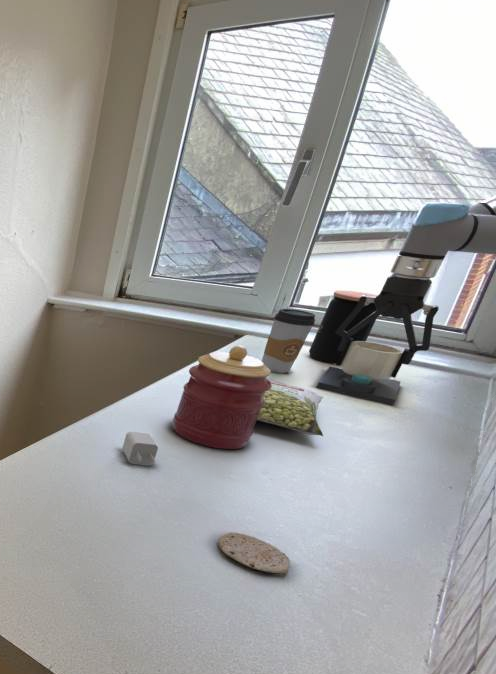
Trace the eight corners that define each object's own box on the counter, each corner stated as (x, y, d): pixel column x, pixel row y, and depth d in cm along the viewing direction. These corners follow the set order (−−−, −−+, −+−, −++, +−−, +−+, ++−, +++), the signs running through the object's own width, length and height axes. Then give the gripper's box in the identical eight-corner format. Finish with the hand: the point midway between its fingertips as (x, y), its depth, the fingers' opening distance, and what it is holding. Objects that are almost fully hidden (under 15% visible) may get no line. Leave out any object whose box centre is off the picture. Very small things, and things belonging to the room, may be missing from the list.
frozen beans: (203, 388, 110) (220, 359, 128) (193, 414, 112) (211, 382, 130) (331, 422, 99) (330, 385, 117) (316, 450, 102) (317, 409, 120)
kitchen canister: (155, 424, 108) (182, 337, 100) (204, 417, 112) (233, 333, 105) (212, 454, 97) (248, 360, 90) (264, 446, 101) (302, 355, 94)
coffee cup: (265, 373, 140) (288, 315, 133) (249, 362, 147) (270, 307, 140) (300, 376, 139) (325, 317, 132) (282, 365, 146) (305, 309, 139)
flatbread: (206, 547, 73) (208, 541, 72) (235, 530, 76) (237, 525, 76) (273, 584, 67) (276, 578, 66) (301, 564, 70) (304, 558, 70)
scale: (398, 386, 134) (404, 375, 133) (392, 406, 122) (398, 393, 121) (327, 371, 143) (332, 360, 142) (315, 388, 131) (320, 376, 130)
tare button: (368, 383, 128) (372, 376, 127) (367, 386, 126) (370, 379, 125) (351, 379, 130) (354, 372, 129) (349, 382, 128) (353, 375, 127)
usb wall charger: (145, 454, 97) (151, 433, 95) (157, 473, 91) (164, 452, 89) (121, 451, 97) (127, 431, 95) (131, 470, 91) (138, 449, 89)
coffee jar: (326, 352, 159) (353, 290, 151) (364, 364, 149) (396, 299, 141) (297, 354, 156) (324, 290, 148) (335, 366, 147) (366, 299, 139)
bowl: (390, 375, 134) (404, 348, 131) (387, 384, 128) (402, 356, 125) (341, 365, 140) (353, 338, 137) (336, 373, 134) (348, 345, 131)
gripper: (346, 270, 128) (307, 361, 138) (481, 287, 114) (426, 387, 124) (350, 267, 133) (312, 355, 143) (480, 283, 119) (427, 379, 129)
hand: (365, 370), depth 133 cm, fingers closed on bowl, 10 cm apart
